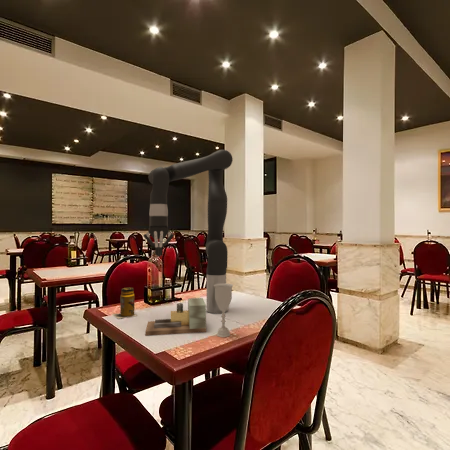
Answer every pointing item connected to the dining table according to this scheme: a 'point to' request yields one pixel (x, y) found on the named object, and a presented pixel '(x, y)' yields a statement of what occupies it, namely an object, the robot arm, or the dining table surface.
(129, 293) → the condiment
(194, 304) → the brown board with blocks
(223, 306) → the chalice
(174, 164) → the robot arm
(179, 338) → the dining table surface
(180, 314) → the tan box
